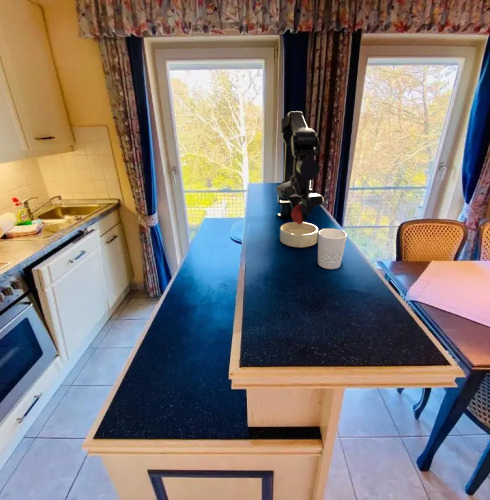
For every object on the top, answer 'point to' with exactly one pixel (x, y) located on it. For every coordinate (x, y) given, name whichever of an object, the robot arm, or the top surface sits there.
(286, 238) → the bowl
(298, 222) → the onion
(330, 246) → the white cup
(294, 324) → the top surface
